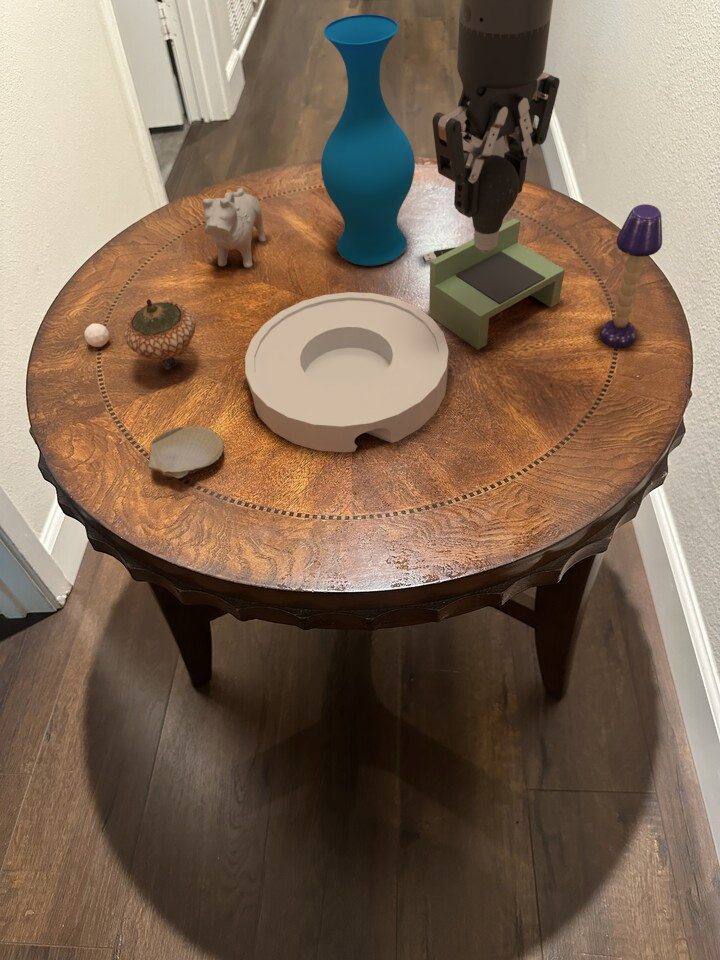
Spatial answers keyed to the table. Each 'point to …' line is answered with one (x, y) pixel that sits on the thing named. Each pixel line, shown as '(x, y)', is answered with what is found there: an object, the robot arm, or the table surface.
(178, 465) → the seashell
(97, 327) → the polyhedron
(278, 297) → the table surface
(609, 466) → the table surface
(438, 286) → the bench
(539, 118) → the robot arm
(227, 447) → the table surface
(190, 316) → the acorn
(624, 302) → the toy lamp
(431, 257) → the usb flash drive
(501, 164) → the light bulb
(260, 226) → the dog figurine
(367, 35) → the vase
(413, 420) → the beige round base
